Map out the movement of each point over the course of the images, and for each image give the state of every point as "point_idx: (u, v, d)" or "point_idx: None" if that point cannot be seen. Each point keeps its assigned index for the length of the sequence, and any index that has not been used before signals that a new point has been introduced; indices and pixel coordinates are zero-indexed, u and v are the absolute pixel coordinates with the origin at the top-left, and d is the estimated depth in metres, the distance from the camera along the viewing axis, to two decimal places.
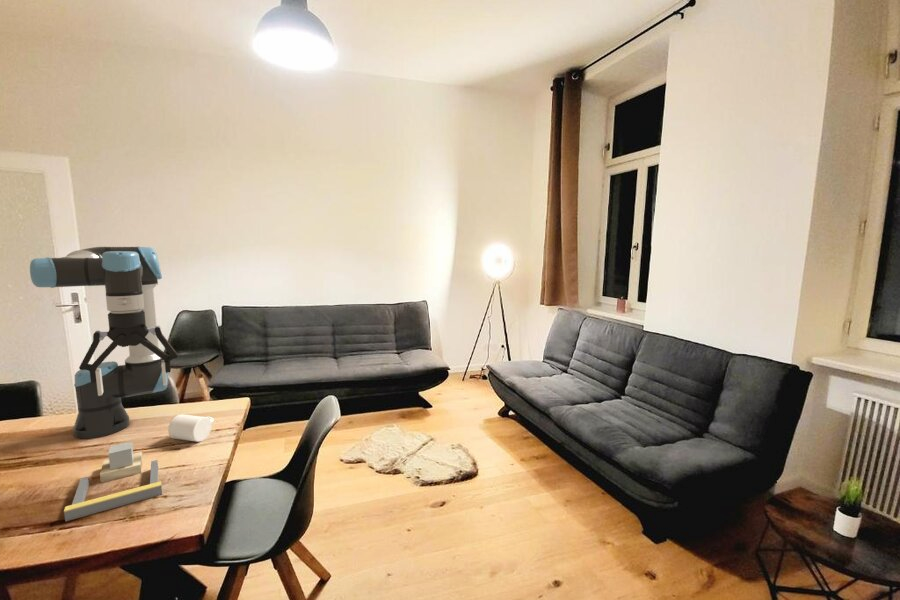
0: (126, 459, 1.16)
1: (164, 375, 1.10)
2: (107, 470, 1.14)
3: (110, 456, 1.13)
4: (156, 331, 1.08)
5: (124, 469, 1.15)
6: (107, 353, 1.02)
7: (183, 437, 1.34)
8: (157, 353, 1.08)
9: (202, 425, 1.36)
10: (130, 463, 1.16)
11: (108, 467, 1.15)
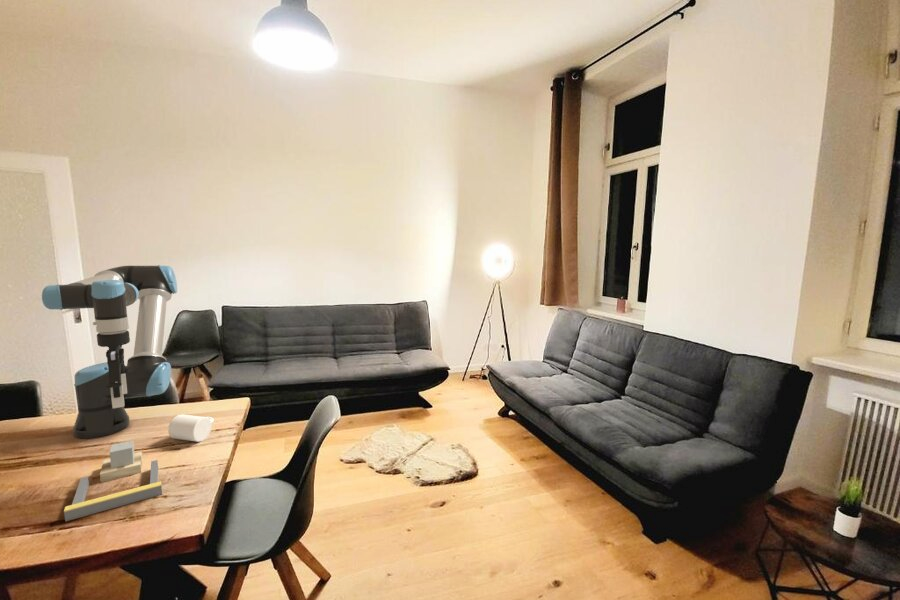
0: (127, 458, 1.16)
1: (111, 398, 1.18)
2: (107, 469, 1.14)
3: (111, 455, 1.14)
4: None
5: (124, 469, 1.15)
6: None
7: (183, 437, 1.34)
8: None
9: (202, 425, 1.36)
10: (131, 462, 1.17)
11: (108, 467, 1.15)
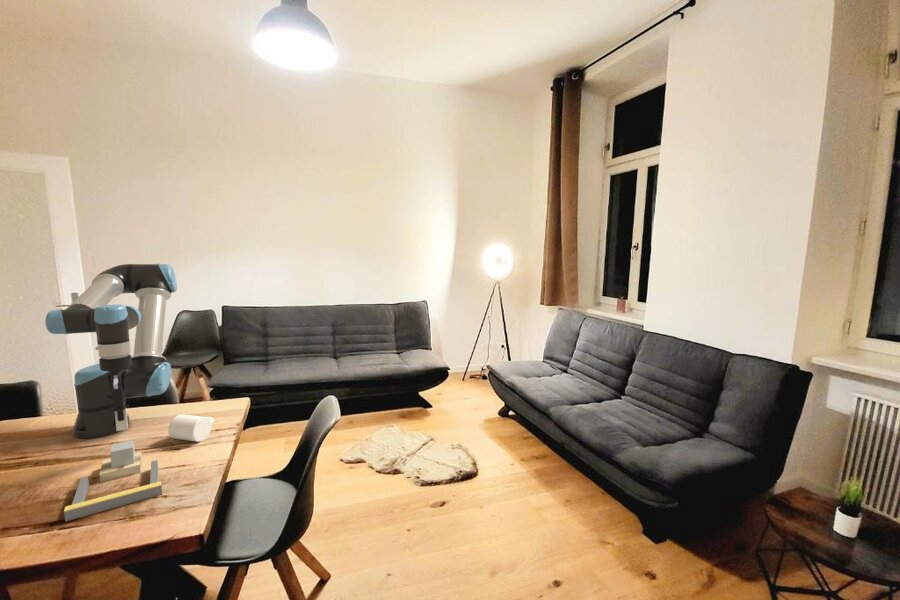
0: (127, 457, 1.17)
1: (115, 422, 1.23)
2: (106, 470, 1.14)
3: (112, 455, 1.14)
4: None
5: (123, 469, 1.15)
6: None
7: (183, 437, 1.34)
8: None
9: (202, 425, 1.36)
10: (132, 462, 1.17)
11: (107, 467, 1.15)
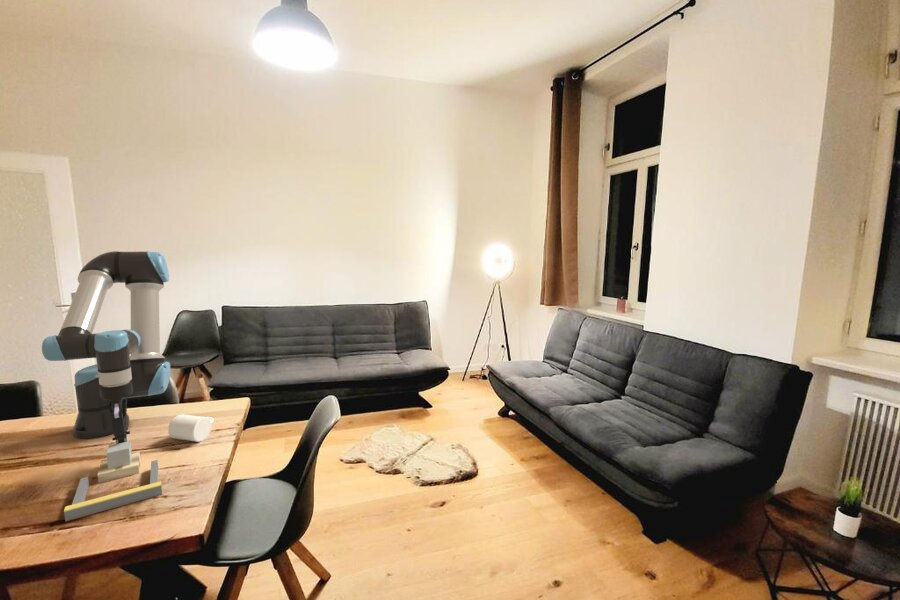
0: (124, 458, 1.16)
1: None
2: (105, 470, 1.14)
3: (108, 456, 1.14)
4: None
5: (122, 469, 1.15)
6: None
7: (183, 437, 1.34)
8: None
9: (202, 425, 1.36)
10: (128, 463, 1.17)
11: (106, 467, 1.15)
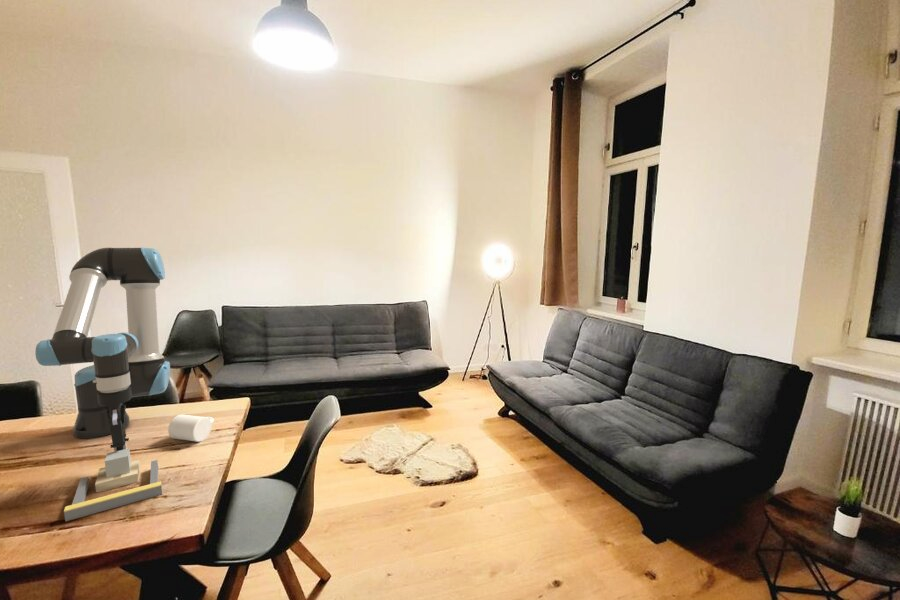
0: (123, 466, 1.12)
1: None
2: (103, 479, 1.09)
3: (106, 464, 1.10)
4: None
5: (120, 478, 1.10)
6: None
7: (183, 437, 1.34)
8: None
9: (202, 425, 1.36)
10: (127, 471, 1.13)
11: (104, 476, 1.11)
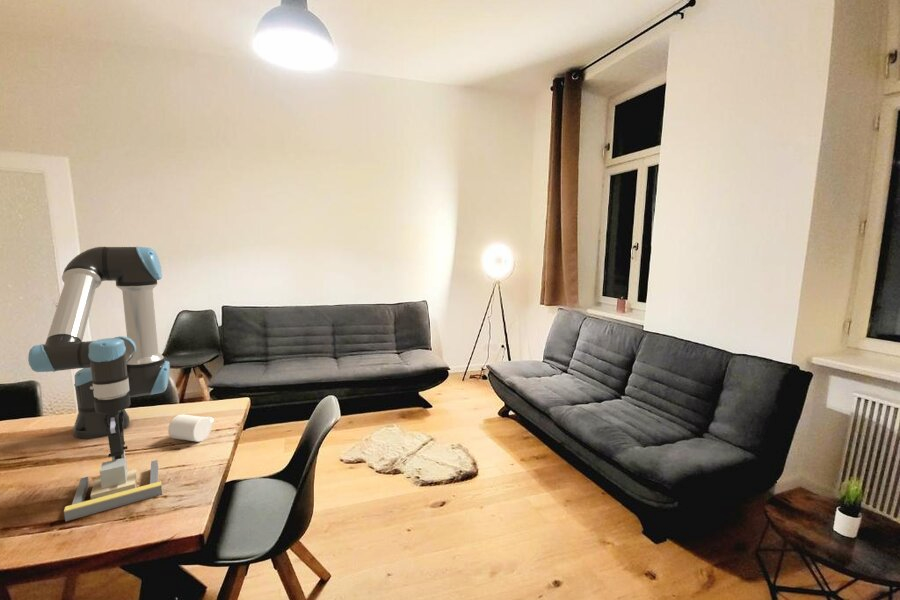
0: (119, 477, 1.07)
1: None
2: (98, 490, 1.05)
3: (101, 474, 1.05)
4: None
5: (117, 489, 1.06)
6: None
7: (183, 437, 1.34)
8: None
9: (202, 425, 1.36)
10: (123, 481, 1.08)
11: (100, 487, 1.06)
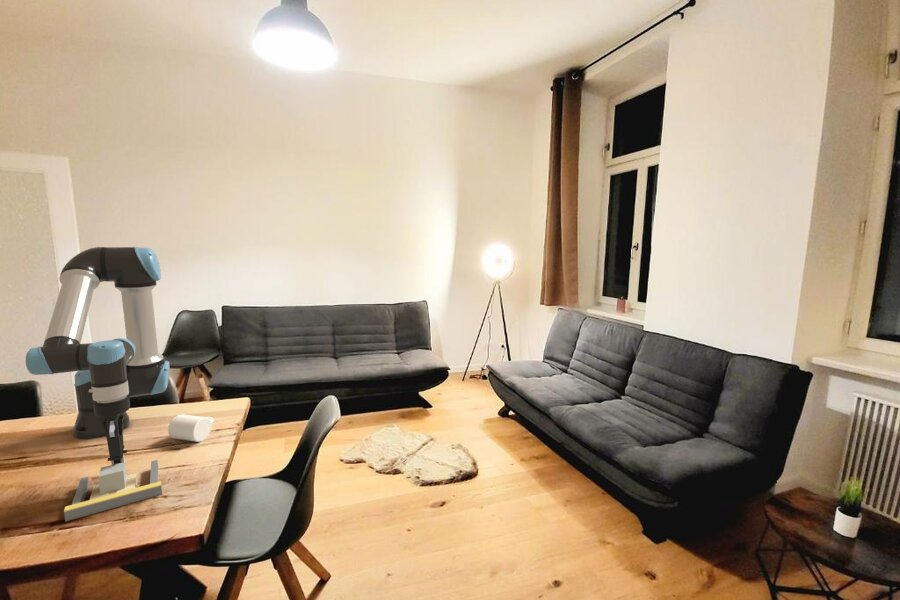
0: (118, 482, 1.05)
1: None
2: (97, 495, 1.03)
3: (100, 479, 1.03)
4: None
5: None
6: None
7: (183, 437, 1.34)
8: None
9: (202, 425, 1.36)
10: (123, 486, 1.06)
11: (99, 492, 1.04)
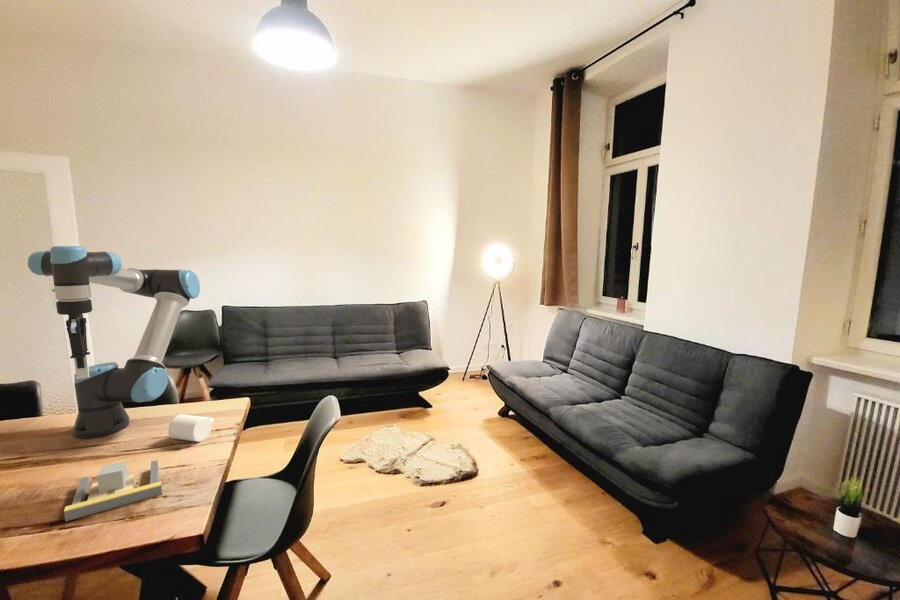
0: (116, 481, 1.05)
1: None
2: (95, 495, 1.03)
3: (99, 478, 1.03)
4: None
5: None
6: None
7: (183, 437, 1.34)
8: None
9: (202, 425, 1.36)
10: (121, 486, 1.06)
11: (97, 492, 1.04)
